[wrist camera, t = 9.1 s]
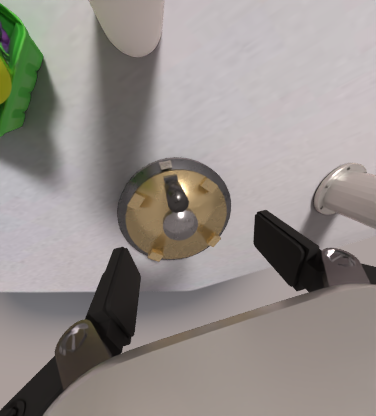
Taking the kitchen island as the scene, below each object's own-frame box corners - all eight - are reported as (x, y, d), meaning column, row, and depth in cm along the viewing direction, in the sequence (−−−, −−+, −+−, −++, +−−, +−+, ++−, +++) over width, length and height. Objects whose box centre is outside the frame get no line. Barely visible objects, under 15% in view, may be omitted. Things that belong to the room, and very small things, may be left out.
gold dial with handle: (163, 144, 21) (167, 150, 14) (241, 202, 29) (272, 226, 21) (108, 234, 26) (90, 274, 18) (188, 264, 33) (198, 301, 26)
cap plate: (242, 172, 28) (249, 175, 26) (208, 255, 36) (212, 263, 34) (125, 142, 22) (121, 143, 20) (116, 250, 30) (113, 259, 28)
